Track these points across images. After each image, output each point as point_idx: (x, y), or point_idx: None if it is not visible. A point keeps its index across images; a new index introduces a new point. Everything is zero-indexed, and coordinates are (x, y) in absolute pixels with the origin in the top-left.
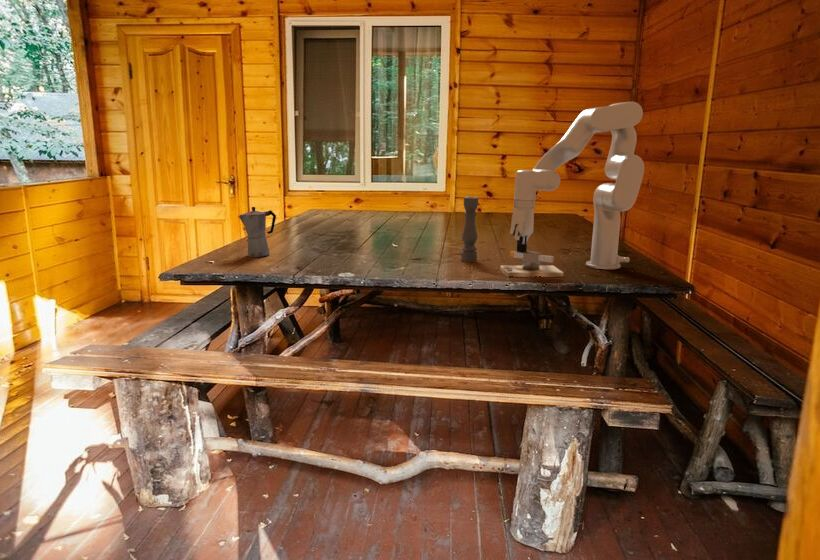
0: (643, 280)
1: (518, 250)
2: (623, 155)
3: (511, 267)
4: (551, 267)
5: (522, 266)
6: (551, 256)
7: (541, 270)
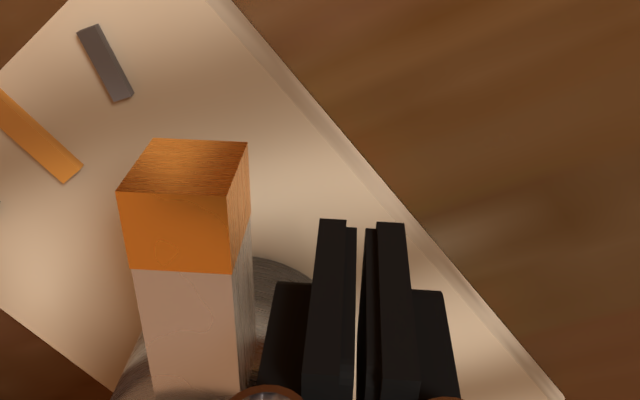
0: None
1: (274, 307)
2: None
3: (149, 133)
4: None
5: (310, 217)
6: None
7: None
